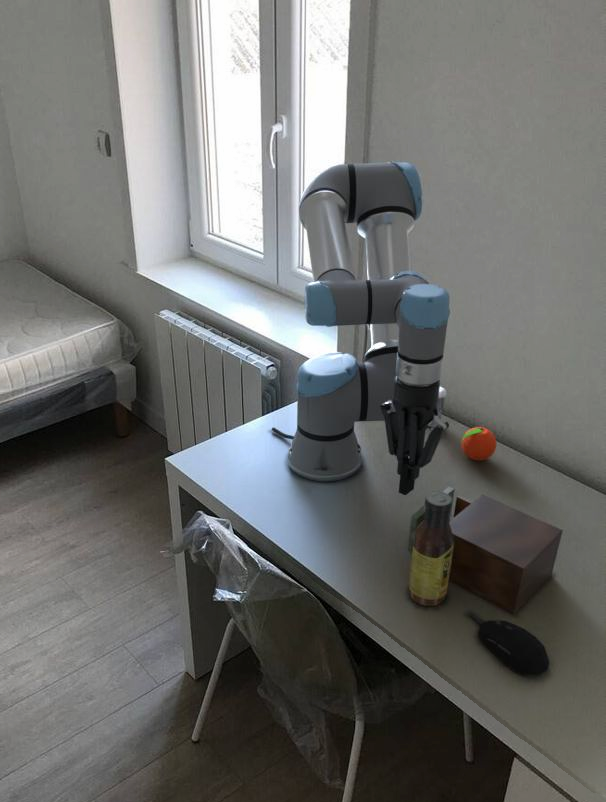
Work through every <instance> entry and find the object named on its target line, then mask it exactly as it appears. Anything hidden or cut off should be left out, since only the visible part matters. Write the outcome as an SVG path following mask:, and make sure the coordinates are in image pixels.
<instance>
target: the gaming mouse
mask: <svg viewBox="0 0 606 802" xmlns="http://www.w3.org/2000/svg"><path fill="white" fill-rule="evenodd" d="M469 616H470V617H471V618H472V619H474V620H475V621H476V622H477V623H478V624H479V625H480V626H479V629H478V632H477V635H478V637H479V639H480V642H482V644H483V645H484V646H486V648H487V649H488V650H489V651H491V652H492V653H493V654H494V655H495V656H496V657H497V658H498V659H499V660H500V661H501V662H502V663H503V664H504V665H505V666H507V667H508V668H509V669H510V670H512V671H514V672H516V673H517V674H519V675H521V676H540V675H542V674H544V673H545V672H547V671H548V670H549V667H550V659H549V657H548V653H547V650H546V647H545V646H544V644H543V643H542V642H541V641H540V640H539V639H538V638H537V636H535V635H534V634H532V633H531V632H530V631H529V630H527V629H525V628H524V627H521V626H519V625H517V624H515V623H512V622H510V621H507V620H500V619H499V620H486V621H483V620H482V619H481V618H478V617H477V616H476V615H474V614H473V613H470V614H469Z"/></svg>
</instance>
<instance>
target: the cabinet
mask: <svg viewBox="0 0 606 802" xmlns="http://www.w3.org/2000/svg"><path fill="white" fill-rule="evenodd" d="M449 524H450V527H451V531H452V534H453V537H454V547H453V554H452V561H451V569H450V575H449V581H451V582H453V583H455V584H457V585H459V586H460V587H462V588H464V589H466V590H468V591H470V592H471V593H474V594H475V595H477V596H479V597H481V598H482V599H484V600H486V601H488V602H490V603H492V604H494V605H496V606H498V607H500V608H502V609H503V610H505V611H507V612H509V613H511V614H515V613H516V612H517V611H518V610H519V609H520V608H521V607H522V606H523V605H524V604H525V603H526V602H527V601H528V600H529V598H530V597H531V596H533V594H535V593H536V591H538V589H539V588H540V587H541V586H542V585H543V584H544V583H545V582H546V581H547V580H548V579H549V578H550V577H551V576H552V574H553V570H554V566H555V563H556V559H557V555H558V551H559V547H560V543H561V539H562V535H563V529H561V528H558V527H557V526H554V525H552V524H550V523H547V522H545V521H543V520H541V519H538V518H536V517H534V516H532V515H529V514H527V513H525V512H523V511H520V510H519V509H516V508H514V507H512V506H509V505H507V504H505V503H503V502H500V501H498V500H497V499H494V498H491V497H489V496H487V495H485V494H481V495H480V496H478V497H477V498H476V499H475V500H474V501H473V502H472V503H471V504H470V505H469V506H468V507H466V508H465V509H464V510H463V511H462V512H460V513H459V514H458V515H457V516H455V517H454V516H453V518H452V519H450V521H449Z"/></svg>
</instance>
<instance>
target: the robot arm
mask: <svg viewBox="0 0 606 802" xmlns="http://www.w3.org/2000/svg"><path fill="white" fill-rule="evenodd" d="M422 196H423V189H422V183H421V179H420V175H419V171H418V170H417V168H416V167H415V166H414V165H413V164H412V163H410V162H402V161H401V162H399V161H394V160H391V161H390V160H389V161H388V162H372V163H371V162H369V163H348V164H347V163H341V164H340V163H339V164H336V165H333V166H329V167H328V168H325V169H324V170H323V171H321V172H319V173H317V174H316V175H315V176H314V177H313V178H312V179H311V180H310V181H309V183H308V184H307V186H306V187H305V189H304V190H303V192H302V194H301V197H300V198H299V204H298V215H299V221H300V224H301V225H302V227H303V228H304V230H306V236H307V244H308V250H309V251H308V252H309V258H310V267H311V274H312V281H313V282H309V283H307V284H306V286H305V287H304V314H305V315H304V317H305V321H306V323H307V324H308V325H309V326H312V327H315V326H316V327H327V328H331V327H342V326H359V325H360V326H362V325H370V342H371V346H370V348H369V349H368V350H367V352H366V353H365V354H364V362H358V360H357V359H356V357H355V356H353V355H352V354H350V353H344V352H341V351H330V352H323V353H319V354H317V355H314V356H312V357H309V358H308V360H306V361H304V362H303V363H302V364H301V365H300V367H299V369H298V372H297V384H296V386H295V391H296V393H297V400H296V401H297V405H296V408H297V409H296V410H297V411H296V430H295V433H294V435H291V434H286V433H284V432H282V431H280V430H279V429H277V428H276V427H274V426H273V427H272V428H271V431H272V432H273V433H275V434H276V435H279V436H281V438H284V439H289V440H292V442H291V445H290V446H289V448H288V454H287V457H288V458H287V462H288V466H289V468H290V470H292V472H293V473H295V474H296V475H298V476H300V477H301V478H304V479H306V480H310V481H314V482H323V483H324V482H326V483H327V482H329V483H330V482H338V481H341V480H345V479H348V478H350V477H351V476H354V474H356V473H357V472H358V471H359V470H360V468H361V465H362V452H363V450H362V447H361V446H360V444H359V442H358V438H357V435H356V432H355V422H384V426H385V433H386V438H387V439H386V440H387V447H388V453H389V455H390V456H395V458H396V459H397V466H396V473H397V475H399V484H398V485H399V486H398V493H399V494H401V495H403V496H407V495H408V494H409V493H411V492H412V491H414V490H415V482H416V480H417V479H418V478H419V477H420V471H421V469H423V468H424V467H425V466H427V465H428V464H429V463H431V462H432V461H433V457H434V455H435V452H436V451H437V447H438V445H439V443H440V440H441V438H442V435H443V433H444V432H445V431H446V430H447V429H448V428H449V427H450V423H449V422H448V421H443V420H441V419H440V418H439V417H438V416H437V415H438V411H437V407H436V404H437V401H438V397H439V388H440V386H441V378H442V371H443V361H444V352H445V344H446V337H447V329H448V321H449V317H450V315H451V310H450V299H451V297H450V293H449V291H447V289H445V288H443V287H441V286H440V285H437V284H432V283H429V281H428V280H427V279H425V277H424V276H423V275H421V274H420V273H419V272H416V271H413V270H411V264H410V263H411V261H410V248H409V233H410V232H411V231H412V230H413V229H414V228H415V221H417V220H418V219H419V218H420V217H421V215H422V210H423V199H422V198H423V197H422ZM346 224H356V230H357V233H358V235H359V236H361V237H362V238H364V240H365V255H366V257H365V258H366V271H367V272H366V274H367V279H365V280H362V279H361V280H357V277H356V271H355V266H354V263H353V258H352V253H351V247H350V243H349V242H350V241H349V238H348V232H347V227H346ZM430 422H432V426H431V427H430V432H429V434H428V436H427V439H426V441H425V438H426V431H427V429H428V424H429V423H430Z"/></svg>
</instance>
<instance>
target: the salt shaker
mask: <svg viewBox="0 0 606 802" xmlns="http://www.w3.org/2000/svg"><path fill="white" fill-rule="evenodd" d="M446 398H447V390H446V388H444V387H442V386H441V385H440V388H439V397H438V401H437V404H436V407H437V411H438V415H437V416H438V417H439V418H440V420H441V419H442V414H443V409H444V405H445V402H446ZM431 426H432V422H430V423H429V424H428V426H427V428H428V427H429V428H431Z"/></svg>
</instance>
